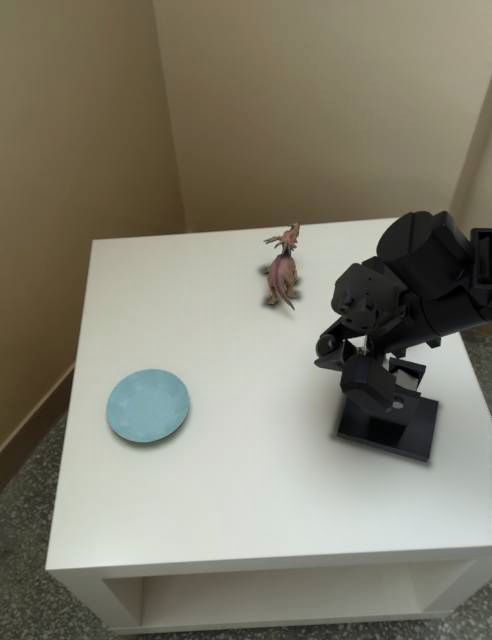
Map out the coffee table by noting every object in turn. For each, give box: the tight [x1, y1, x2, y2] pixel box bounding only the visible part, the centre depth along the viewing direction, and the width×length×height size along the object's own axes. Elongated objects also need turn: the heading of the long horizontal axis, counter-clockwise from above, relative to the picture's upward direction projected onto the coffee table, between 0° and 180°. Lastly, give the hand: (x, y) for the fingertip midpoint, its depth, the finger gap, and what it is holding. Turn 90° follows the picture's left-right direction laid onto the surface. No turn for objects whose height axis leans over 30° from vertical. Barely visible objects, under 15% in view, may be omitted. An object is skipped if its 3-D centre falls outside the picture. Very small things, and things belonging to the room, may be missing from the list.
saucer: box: [105, 368, 190, 443], centre depth 75 cm, size 12×12×2 cm
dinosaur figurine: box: [262, 222, 301, 312], centre depth 84 cm, size 14×6×9 cm, turn 176°
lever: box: [314, 334, 418, 391], centre depth 65 cm, size 13×4×4 cm, turn 70°
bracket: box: [335, 356, 440, 463], centre depth 68 cm, size 12×9×11 cm
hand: (318, 351), depth 65 cm, fingers closed on lever, 3 cm apart
